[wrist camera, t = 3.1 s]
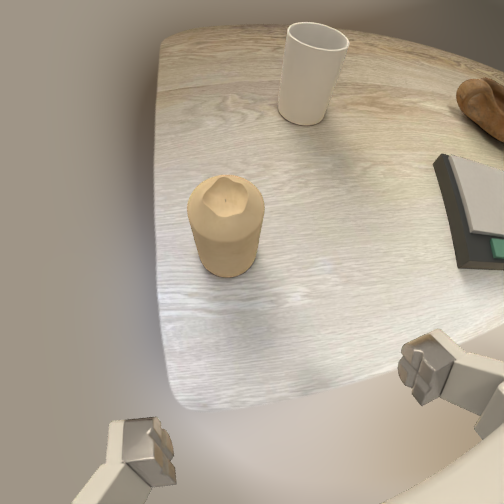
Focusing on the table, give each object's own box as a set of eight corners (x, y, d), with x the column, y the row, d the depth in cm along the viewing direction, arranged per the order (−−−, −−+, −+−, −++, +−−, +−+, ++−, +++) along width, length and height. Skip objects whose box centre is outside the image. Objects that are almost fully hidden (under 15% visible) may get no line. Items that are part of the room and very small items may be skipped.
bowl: (485, 157, 36) (507, 104, 28) (434, 109, 45) (447, 62, 37) (530, 156, 39) (549, 116, 31) (487, 115, 47) (500, 77, 39)
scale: (524, 271, 31) (539, 263, 28) (457, 268, 31) (474, 258, 28) (500, 181, 37) (511, 171, 34) (432, 163, 36) (444, 149, 33)
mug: (327, 131, 37) (354, 56, 25) (274, 124, 36) (287, 44, 25) (322, 84, 40) (340, 18, 29) (276, 78, 40) (287, 8, 29)
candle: (201, 281, 29) (186, 237, 19) (196, 227, 31) (183, 167, 21) (260, 274, 29) (272, 228, 20) (252, 222, 31) (259, 159, 22)
